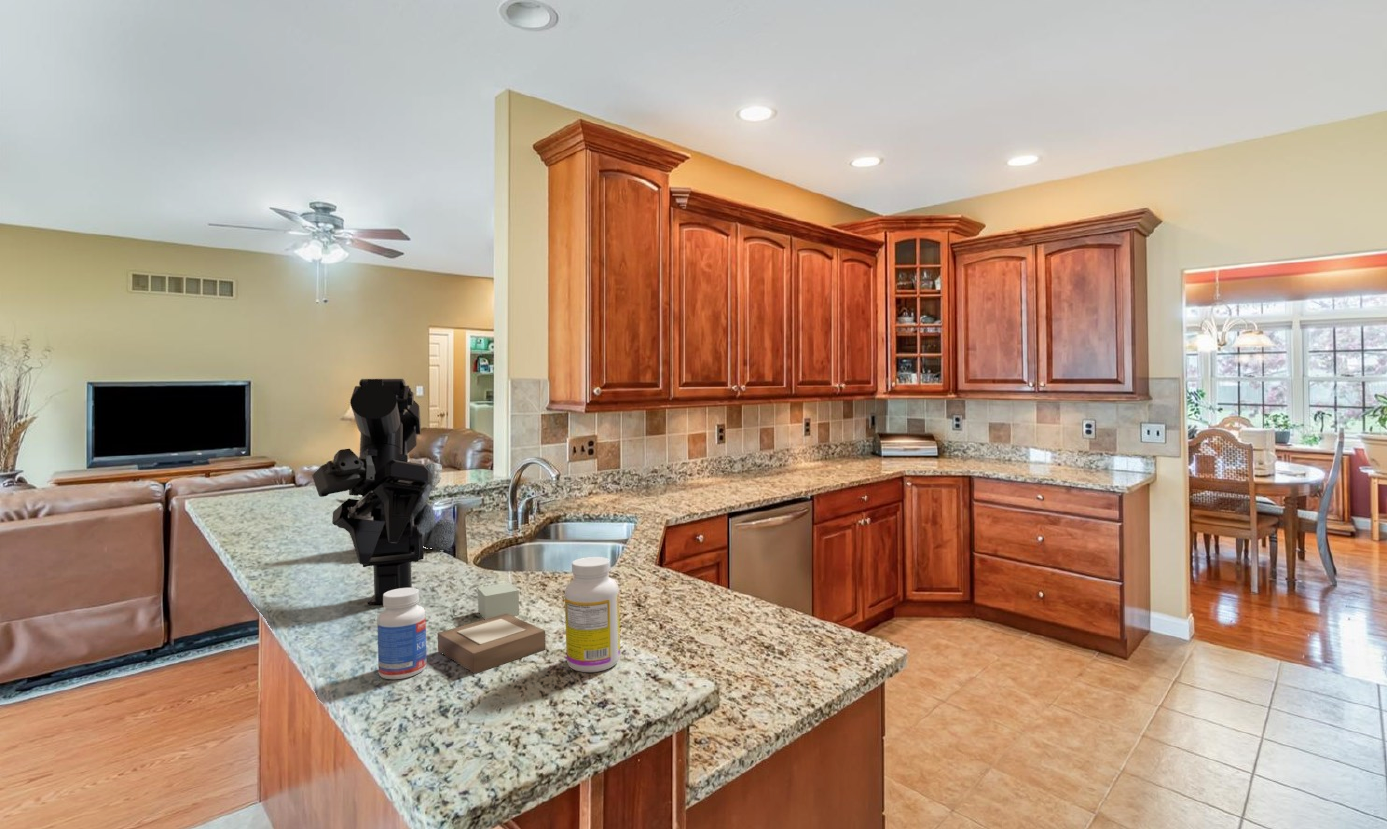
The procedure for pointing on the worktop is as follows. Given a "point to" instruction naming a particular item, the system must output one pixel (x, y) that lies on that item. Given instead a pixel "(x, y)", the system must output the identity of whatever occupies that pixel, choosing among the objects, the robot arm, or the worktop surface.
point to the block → (498, 600)
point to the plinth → (491, 642)
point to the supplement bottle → (592, 616)
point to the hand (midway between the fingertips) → (378, 553)
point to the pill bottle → (401, 635)
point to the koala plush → (433, 517)
